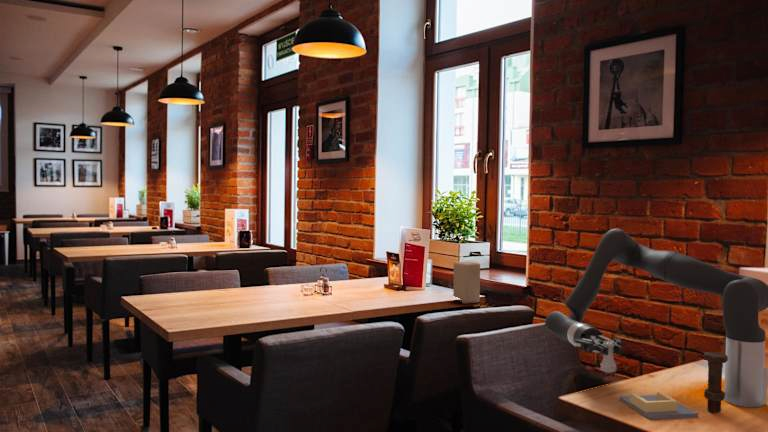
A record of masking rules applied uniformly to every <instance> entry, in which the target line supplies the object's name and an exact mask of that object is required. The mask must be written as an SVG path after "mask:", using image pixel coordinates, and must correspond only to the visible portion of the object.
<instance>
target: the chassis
mask: <svg viewBox="0 0 768 432" xmlns="http://www.w3.org/2000/svg"><path fill="white" fill-rule="evenodd" d="M629 394H630V395H622V396H621V395H619V397H618V400H619V401H620V402H622V403H623V404H625V405H626V406H628V407H629V408H631V409H633V410H634V411H635V412H637V413H639V414H641V415H642V416H644V417H645V418H646V419H649V420H650V421H651V420H664V419H665V420H668V419H669V420H671V419H686V418H687V419H688V418H699V413H698V412H696V411H695V410H693V409H691V408H690V407H687V406H685V405H683V404H682V403H680V402H678V401H677V400H676V399H675V398H672V397H671V396H669V395H666V394H665V393H663V392H661V391H657V392H656V394H646V395H645V394H643V395H638V394H636V393H634V392H630V393H629Z"/></svg>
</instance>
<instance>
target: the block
mask: <svg viewBox="0 0 768 432" xmlns="http://www.w3.org/2000/svg"><path fill="white" fill-rule="evenodd" d="M452 288H453V291H452V292H453V293H452V294H453V295H452V296H455V297H458V298H460V299H462V303H461V304H475V303H479V302H480V300H481V299H480V298H481V297H480V296H481V295H480V293H481V264H480V263H479V262H474V261H469V260H468V261H467V260H466V261H454V263H453V287H452Z"/></svg>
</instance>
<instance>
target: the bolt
mask: <svg viewBox="0 0 768 432" xmlns="http://www.w3.org/2000/svg"><path fill="white" fill-rule="evenodd" d="M703 360H705V361H707V367H708V368H707V388H705V389H704V392H703V397H704V398H705V399H707V403H706V405H707V407H706V409H707V412H708V413H711V414H719V413H721V411H722V401H725V400H724V398H725V393H724V391H723V390H722V388H723V387H722V386H723V385H722V381H723V367H724V366H723V365H724V364H725V363H726V362H727V361H728V356H727V355H726V353H723V352H717V351H706V352H704V353H703Z"/></svg>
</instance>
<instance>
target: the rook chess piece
mask: <svg viewBox="0 0 768 432" xmlns="http://www.w3.org/2000/svg"><path fill="white" fill-rule="evenodd" d="M602 345H604V346H607V347H608V355H604V354H603V356H602V357H603V358H602V360H601V362H600V363H599V365H600V367H599V369H600V371H601V372H605V373H615V372H616V371H618V369H617V364H616V361H615V359H614V358H615V357H614V350H613V347H614V346H615V345H614V344H613V342H612V341H610V342H609V341H607V342H606V341H604V343H603V344H602Z"/></svg>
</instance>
